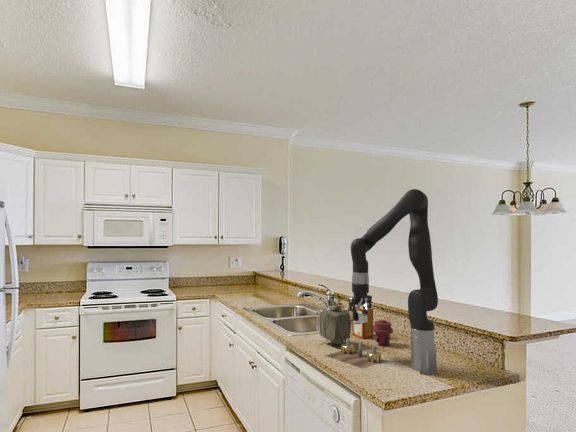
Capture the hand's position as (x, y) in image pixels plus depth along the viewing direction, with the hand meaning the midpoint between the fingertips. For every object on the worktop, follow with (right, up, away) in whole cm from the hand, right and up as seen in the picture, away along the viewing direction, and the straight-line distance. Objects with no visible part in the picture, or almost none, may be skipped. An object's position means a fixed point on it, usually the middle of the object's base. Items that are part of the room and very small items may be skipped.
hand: (360, 319), depth 177 cm
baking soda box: (+8, -19, +38) cm, 43 cm away
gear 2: (+5, -16, -6) cm, 18 cm away
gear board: (-3, -17, -3) cm, 18 cm away
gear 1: (-5, -17, +5) cm, 18 cm away
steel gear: (0, -1, 0) cm, 1 cm away
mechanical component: (+15, -19, +22) cm, 32 cm away
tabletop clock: (-10, -18, +17) cm, 27 cm away
